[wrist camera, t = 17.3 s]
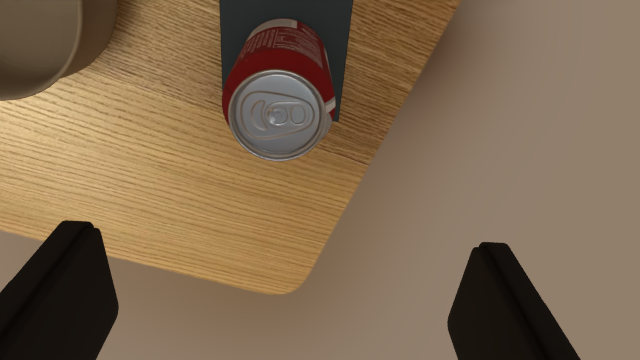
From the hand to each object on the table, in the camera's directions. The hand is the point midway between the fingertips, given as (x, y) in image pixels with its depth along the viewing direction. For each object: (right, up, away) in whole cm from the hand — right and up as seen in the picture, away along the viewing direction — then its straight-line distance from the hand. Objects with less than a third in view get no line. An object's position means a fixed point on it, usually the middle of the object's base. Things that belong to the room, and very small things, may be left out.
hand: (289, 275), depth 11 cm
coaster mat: (-2, +12, +23) cm, 26 cm away
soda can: (-2, +12, +23) cm, 26 cm away
